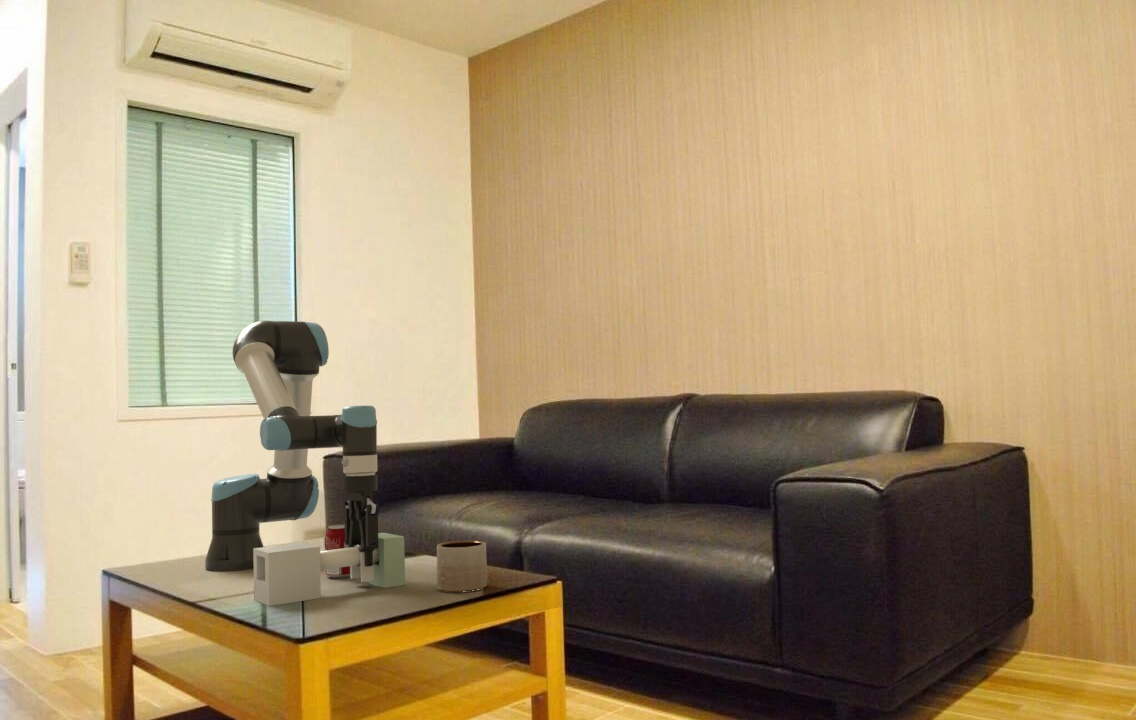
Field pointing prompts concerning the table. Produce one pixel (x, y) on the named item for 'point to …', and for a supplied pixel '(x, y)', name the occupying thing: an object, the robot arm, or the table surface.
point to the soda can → (336, 541)
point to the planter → (461, 566)
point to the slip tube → (343, 557)
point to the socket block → (389, 561)
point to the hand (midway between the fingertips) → (361, 579)
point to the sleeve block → (286, 573)
